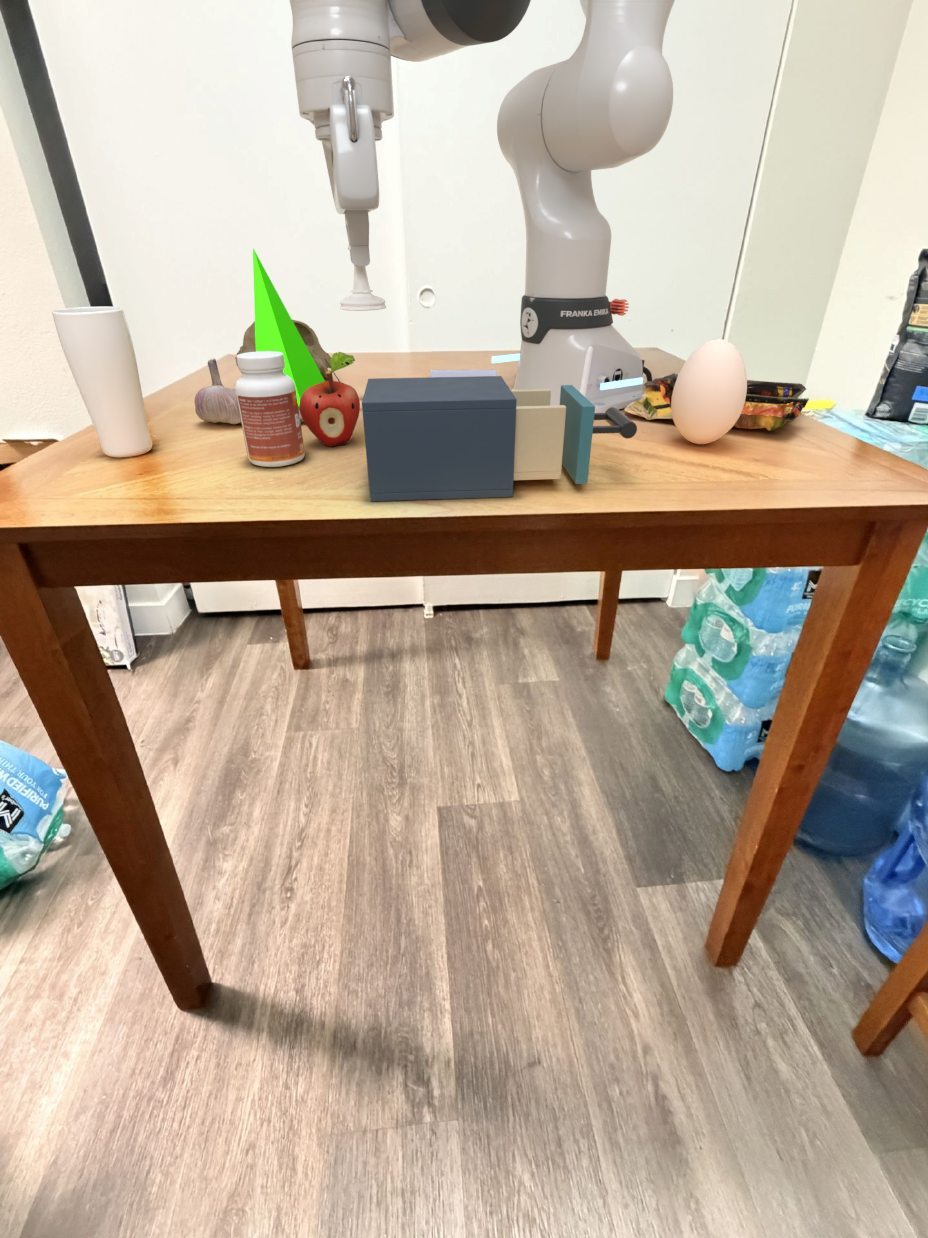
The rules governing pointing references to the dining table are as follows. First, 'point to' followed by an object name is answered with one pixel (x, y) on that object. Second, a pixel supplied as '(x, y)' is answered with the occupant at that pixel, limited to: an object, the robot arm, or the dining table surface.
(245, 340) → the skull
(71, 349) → the drinking glass
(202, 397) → the garlic bulb
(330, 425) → the apple
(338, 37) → the robot arm
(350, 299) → the chess piece
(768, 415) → the food
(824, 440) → the dining table surface
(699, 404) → the egg
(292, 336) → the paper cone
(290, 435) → the pill bottle
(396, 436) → the cabinet
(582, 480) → the drawer
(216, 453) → the dining table surface
